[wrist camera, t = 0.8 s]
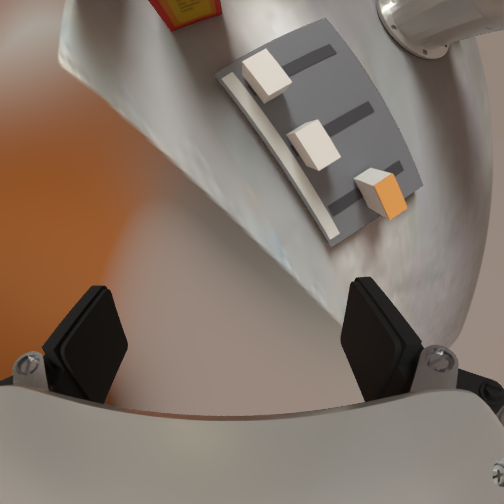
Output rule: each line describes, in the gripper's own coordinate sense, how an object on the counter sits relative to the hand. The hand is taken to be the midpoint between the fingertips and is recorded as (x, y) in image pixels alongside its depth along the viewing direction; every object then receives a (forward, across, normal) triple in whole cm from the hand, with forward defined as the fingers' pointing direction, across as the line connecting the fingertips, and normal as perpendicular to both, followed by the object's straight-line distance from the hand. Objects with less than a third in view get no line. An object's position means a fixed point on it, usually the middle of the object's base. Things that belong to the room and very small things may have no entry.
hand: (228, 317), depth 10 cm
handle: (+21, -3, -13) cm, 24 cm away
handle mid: (+20, -7, -6) cm, 23 cm away
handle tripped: (+21, -15, -1) cm, 26 cm away
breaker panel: (+24, -11, -8) cm, 27 cm away
